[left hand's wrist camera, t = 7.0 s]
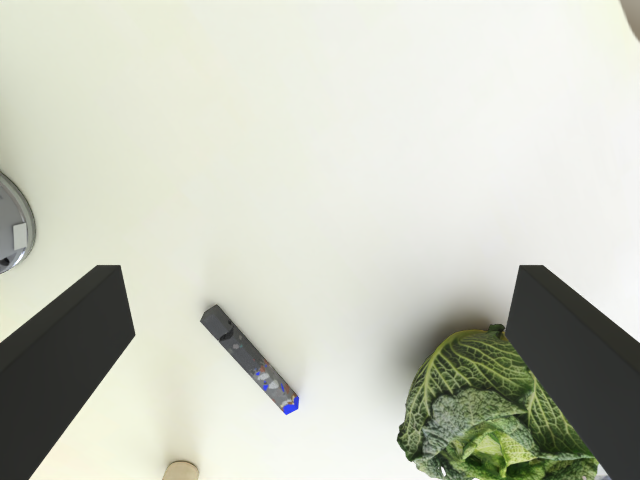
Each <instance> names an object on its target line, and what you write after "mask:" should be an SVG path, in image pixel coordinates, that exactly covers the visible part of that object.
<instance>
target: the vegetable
mask: <svg viewBox="0 0 640 480" xmlns="http://www.w3.org/2000/svg"><path fill="white" fill-rule="evenodd" d="M504 329H505V327H504V326H503V325H502V324H495V325H490V327H489V330H488V331H483V330H477V329H472V330H463V331H459V332H455V333H453V334H452V335H450V336H449V337H448V338H447V339H446V340H444V341H443V342H442V343H441V344H440V345H439V346H438V347H437V348H436V350H435V352H434V353H433V354H431V355H430V356H429V357H427V359H426V360H425V362H424V363H423V365H422V366H421V367H420V369H419V371H418V372H417V374H416V376H415V378H414V380H413V382H412V385H411V388H410V391H409V395H408V398H407V402H406V404H405V405H406V414H405V422H404V423H402V424H401V425H400V426H399V431H400V432H399V434H398V437H397V442H398V444H399V445H400V447H401V449H403V450H404V451H405V453H406V457H407V459H408V460H409V461H411V462H412V461H414V463H415V464H416V467H417V469H418V470H420V471H422V472H425V473H426V474H427V475H428V476H429V477H431V478H439V479H442V480H472V479H473V478H478V479H480V480H583V478H582V476H585V477H586V480H594V478H595V476H596V475H597V470H598V465H599V462H598V461H597V460H596V458H595V457H594V456H593V454H592V453H591V451H590V450H589V449H588V447H587V446H586V445H585V443H584V442H583V441H582V439H581V438H580V437H579V435H578V434H577V433H576V431H575V430H574V428H573V427H572V426H571V424H570V423H569V422H568V420H567V419H566V418H565V416H564V415H563V414H562V412H561V411H560V410H559V408H558V407H557V405H556V404H555V403H554V401H553V400H552V399H551V397H550V396H549V395H548V393H547V392H546V391H545V389H544V388H543V387H542V385H541V384H540V382H539V381H538V380H537V378H536V377H535V376H534V374H533V373H532V372H531V370H530V369H529V368H528V366H527V365H526V364H525V362H524V361H523V359H522V358H521V357H520V355H519V354H518V353H517V351H516V350H515V349H514V347H513V346H512V345H511V343H510V342H509V341H508V339H507V338H506V337H505V332H504V331H503V330H504ZM441 466H442V467H443V468H444V470H445V472H446V476H445V477H443V474H442V471H441ZM438 467H439V469H438Z"/></svg>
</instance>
